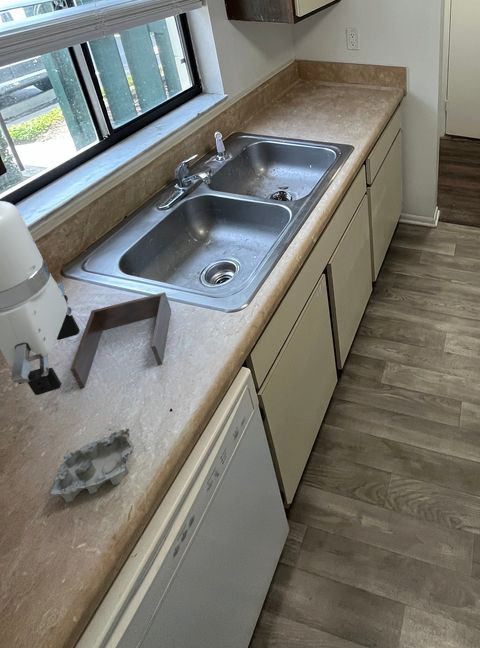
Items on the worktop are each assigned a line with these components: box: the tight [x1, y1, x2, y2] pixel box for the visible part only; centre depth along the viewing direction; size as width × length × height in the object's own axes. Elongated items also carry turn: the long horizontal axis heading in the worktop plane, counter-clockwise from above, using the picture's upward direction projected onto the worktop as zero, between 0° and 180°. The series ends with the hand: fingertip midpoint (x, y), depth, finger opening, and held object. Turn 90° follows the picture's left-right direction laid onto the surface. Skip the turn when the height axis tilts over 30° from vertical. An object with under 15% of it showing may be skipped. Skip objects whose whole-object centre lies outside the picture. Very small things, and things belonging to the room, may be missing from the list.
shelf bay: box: [70, 291, 172, 389], centre depth 96 cm, size 15×15×6 cm
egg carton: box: [50, 428, 135, 504], centre depth 75 cm, size 11×8×4 cm
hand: (59, 361), depth 69 cm, fingers open, 9 cm apart
